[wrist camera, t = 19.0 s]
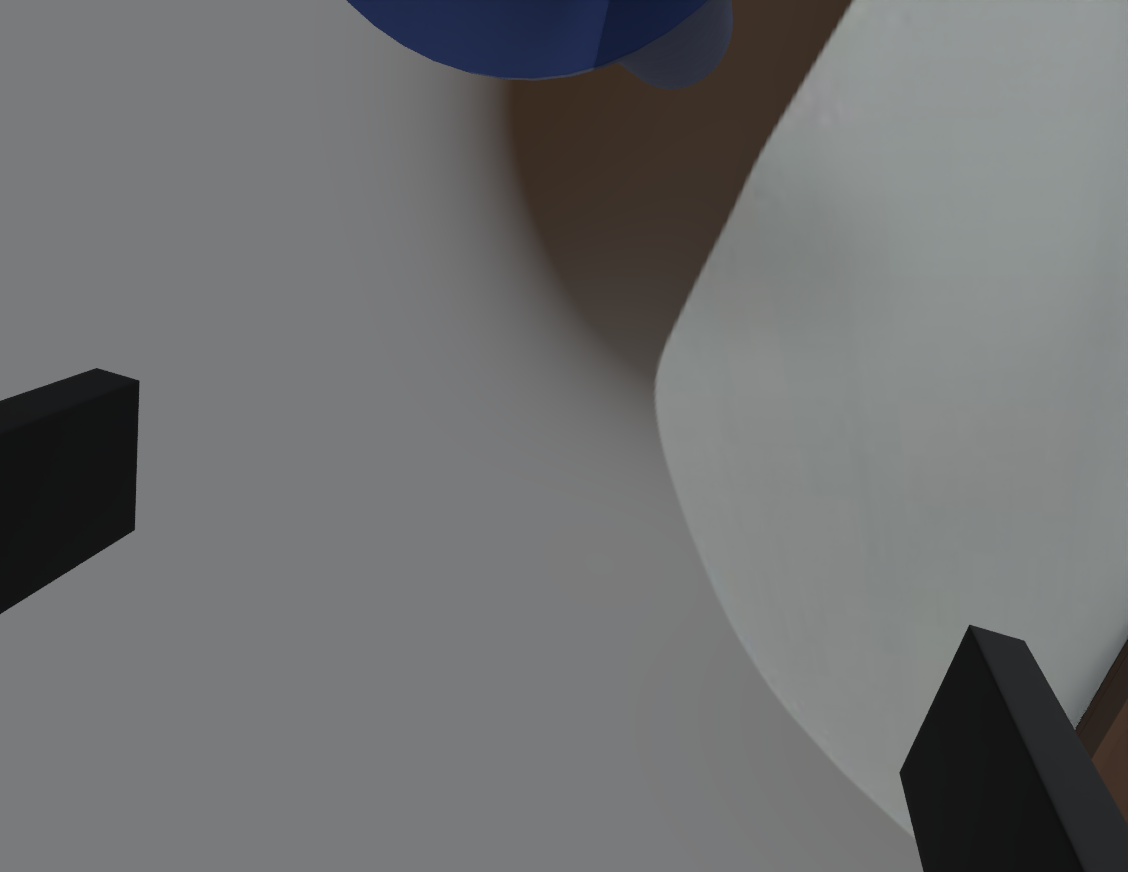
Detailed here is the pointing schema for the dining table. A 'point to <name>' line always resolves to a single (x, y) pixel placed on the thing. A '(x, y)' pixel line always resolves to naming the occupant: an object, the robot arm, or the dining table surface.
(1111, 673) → the tray
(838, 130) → the dining table surface
